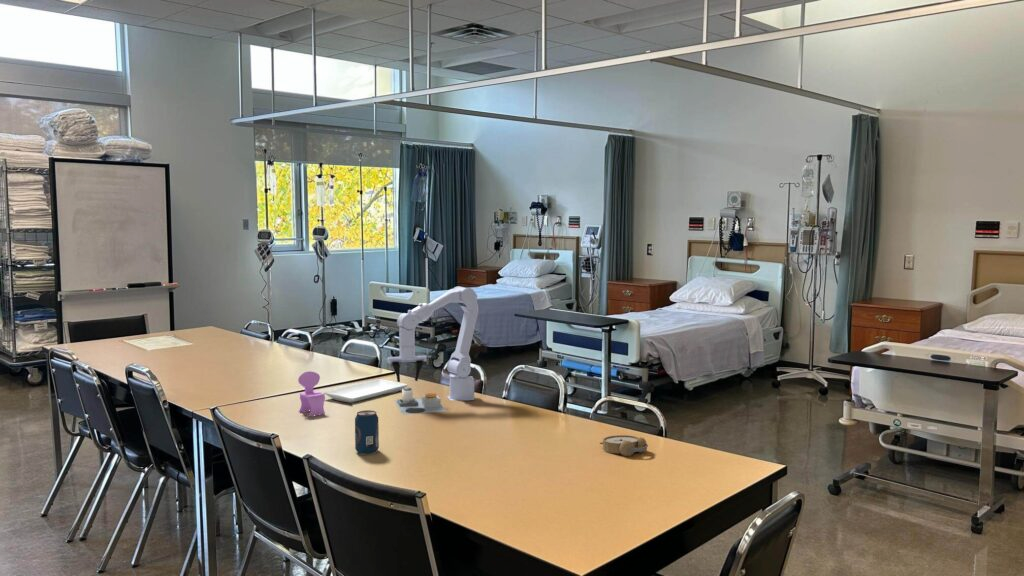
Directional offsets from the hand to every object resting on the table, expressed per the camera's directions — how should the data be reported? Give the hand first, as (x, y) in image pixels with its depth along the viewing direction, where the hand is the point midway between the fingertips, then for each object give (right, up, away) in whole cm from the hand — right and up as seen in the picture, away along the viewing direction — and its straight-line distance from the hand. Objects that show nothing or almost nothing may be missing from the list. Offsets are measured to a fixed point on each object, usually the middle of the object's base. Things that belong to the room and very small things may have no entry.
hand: (407, 381), depth 280 cm
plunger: (+9, -8, -2) cm, 12 cm away
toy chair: (-33, -11, -11) cm, 36 cm away
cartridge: (0, -9, +1) cm, 9 cm away
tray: (-19, -9, +18) cm, 27 cm away
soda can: (-4, -14, -57) cm, 59 cm away
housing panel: (+5, -10, -2) cm, 11 cm away
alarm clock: (+74, -15, -55) cm, 93 cm away
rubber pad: (+4, -10, -9) cm, 14 cm away
